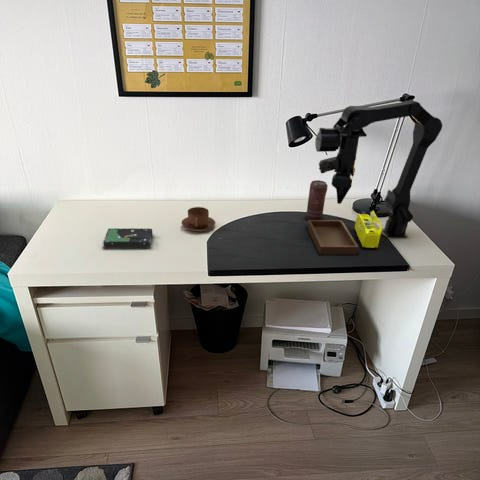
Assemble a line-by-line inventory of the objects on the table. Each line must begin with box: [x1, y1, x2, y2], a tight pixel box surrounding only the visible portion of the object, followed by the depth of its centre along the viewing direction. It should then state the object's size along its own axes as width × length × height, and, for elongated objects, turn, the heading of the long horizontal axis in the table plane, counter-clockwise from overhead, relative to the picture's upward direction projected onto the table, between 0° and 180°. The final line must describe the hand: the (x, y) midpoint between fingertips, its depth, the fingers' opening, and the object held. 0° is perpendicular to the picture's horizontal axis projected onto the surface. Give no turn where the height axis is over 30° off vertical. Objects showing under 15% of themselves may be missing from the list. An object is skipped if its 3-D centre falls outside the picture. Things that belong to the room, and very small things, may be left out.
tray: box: [306, 219, 360, 256], centre depth 152 cm, size 13×22×3 cm, turn 4°
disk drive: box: [103, 227, 154, 249], centre depth 145 cm, size 10×3×15 cm
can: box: [305, 179, 328, 221], centre depth 163 cm, size 6×6×14 cm
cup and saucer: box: [181, 206, 216, 232], centre depth 156 cm, size 12×12×6 cm
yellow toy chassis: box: [354, 210, 382, 249], centre depth 151 cm, size 16×6×8 cm, turn 178°
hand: (340, 198), depth 148 cm, fingers open, 9 cm apart
